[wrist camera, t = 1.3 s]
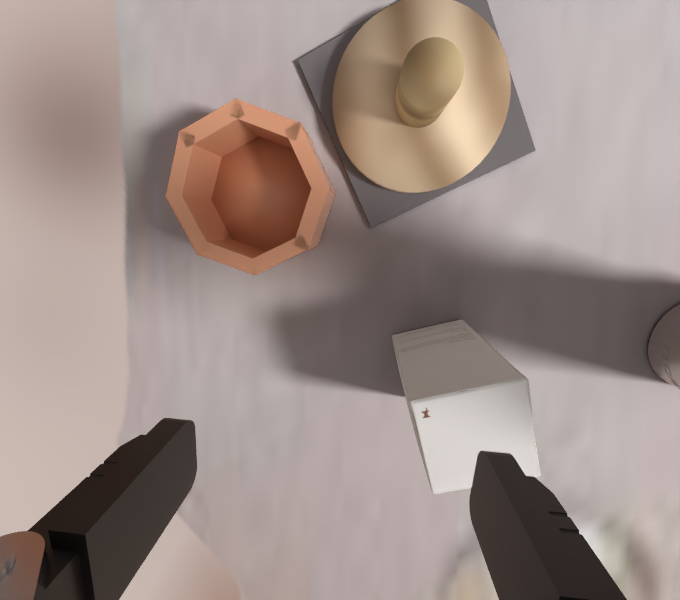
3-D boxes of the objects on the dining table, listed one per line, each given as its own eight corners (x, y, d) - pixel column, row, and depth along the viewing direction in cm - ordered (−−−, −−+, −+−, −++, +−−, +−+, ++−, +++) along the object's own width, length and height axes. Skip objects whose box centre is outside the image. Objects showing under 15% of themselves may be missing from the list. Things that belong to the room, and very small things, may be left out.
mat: (470, -38, 25) (472, -43, 25) (532, 151, 28) (535, 150, 28) (298, 62, 28) (297, 59, 27) (371, 227, 30) (371, 227, 30)
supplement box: (405, 399, 34) (428, 498, 22) (390, 333, 33) (406, 399, 20) (477, 385, 33) (544, 480, 21) (465, 317, 32) (530, 376, 20)
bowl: (295, 103, 28) (278, 72, 23) (352, 229, 31) (349, 230, 25) (183, 166, 30) (140, 152, 24) (243, 280, 32) (217, 293, 27)
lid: (468, -32, 25) (502, -112, 19) (527, 147, 28) (573, 126, 22) (305, 63, 27) (289, 17, 21) (373, 220, 30) (376, 220, 24)
